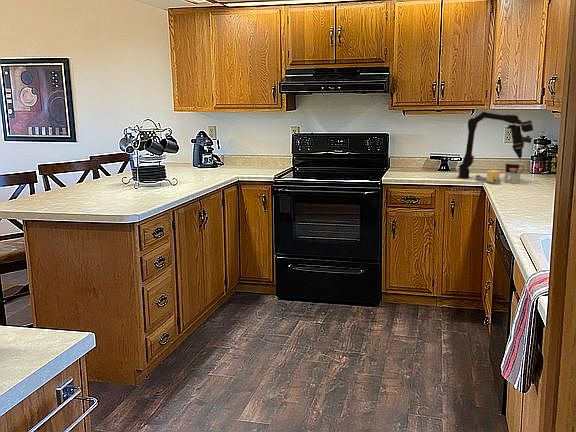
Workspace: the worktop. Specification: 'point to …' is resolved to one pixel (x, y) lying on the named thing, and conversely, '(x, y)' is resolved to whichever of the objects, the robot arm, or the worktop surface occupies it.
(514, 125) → the robot arm
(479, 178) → the rail
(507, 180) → the grey block
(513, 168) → the plunger
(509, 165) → the coffee mug
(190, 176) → the worktop surface
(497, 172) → the carriage
